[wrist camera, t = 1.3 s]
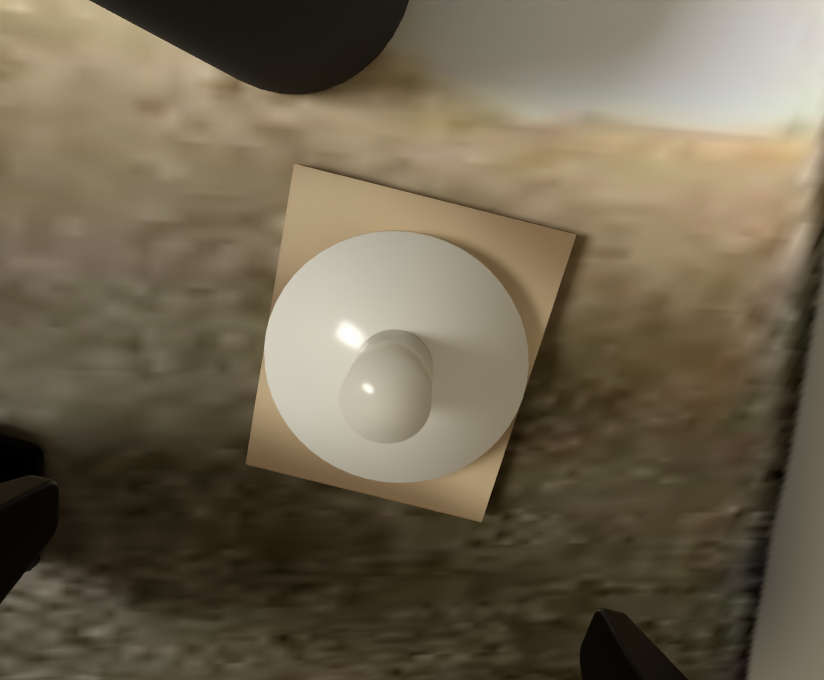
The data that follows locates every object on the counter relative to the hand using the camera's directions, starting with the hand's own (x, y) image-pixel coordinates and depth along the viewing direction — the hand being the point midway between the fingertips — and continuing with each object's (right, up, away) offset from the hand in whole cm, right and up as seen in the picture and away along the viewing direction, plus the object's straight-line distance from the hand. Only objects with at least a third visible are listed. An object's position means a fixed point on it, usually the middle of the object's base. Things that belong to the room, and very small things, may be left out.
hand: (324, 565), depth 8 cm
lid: (+1, +3, +11) cm, 11 cm away
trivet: (+1, +3, +12) cm, 12 cm away
